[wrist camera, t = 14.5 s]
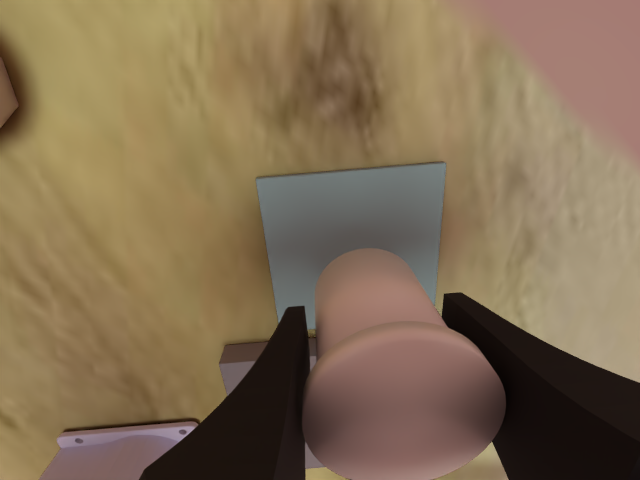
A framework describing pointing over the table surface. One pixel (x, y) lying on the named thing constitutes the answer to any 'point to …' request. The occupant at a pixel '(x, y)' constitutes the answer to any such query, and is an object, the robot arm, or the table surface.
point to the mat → (349, 224)
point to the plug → (393, 377)
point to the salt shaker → (6, 95)
